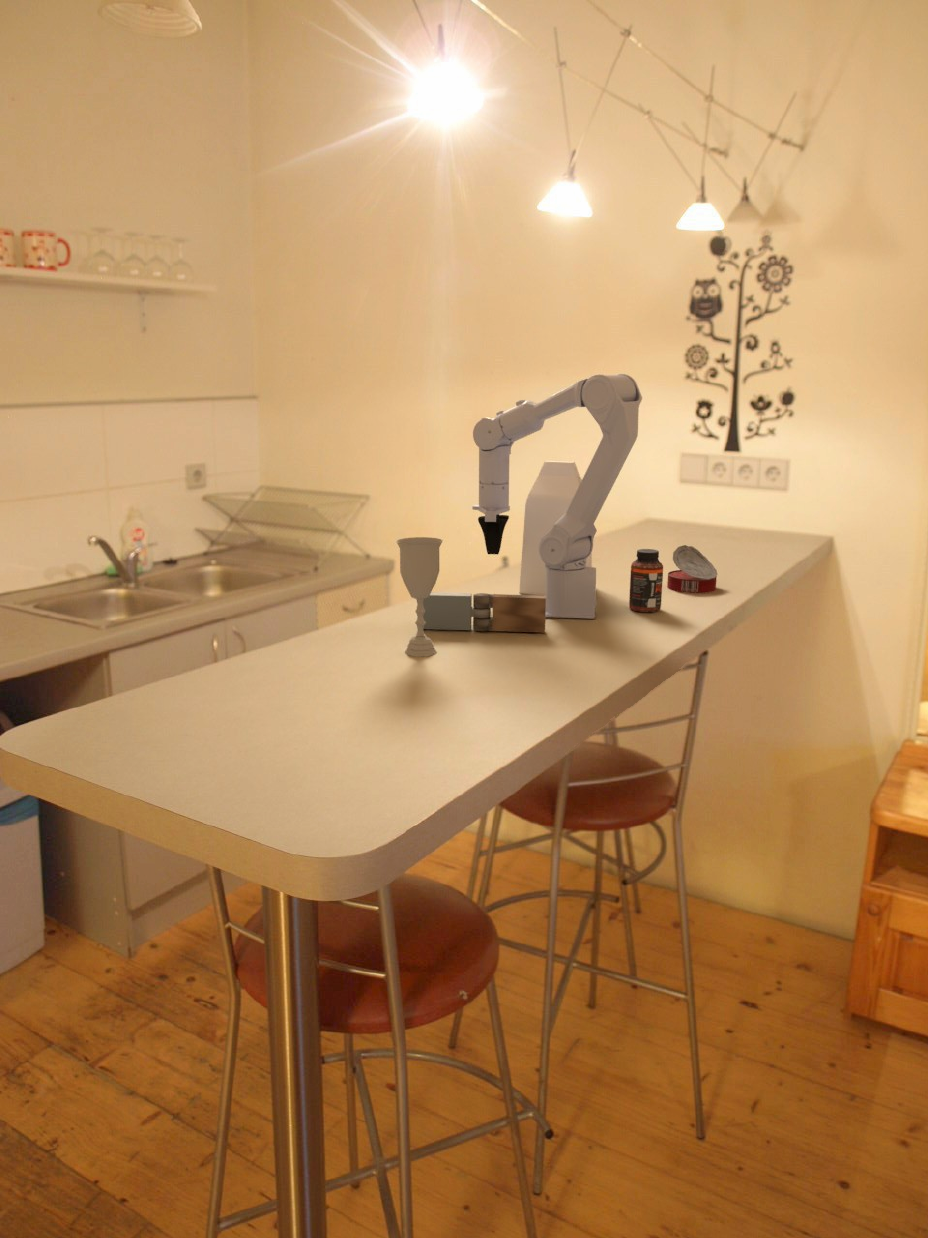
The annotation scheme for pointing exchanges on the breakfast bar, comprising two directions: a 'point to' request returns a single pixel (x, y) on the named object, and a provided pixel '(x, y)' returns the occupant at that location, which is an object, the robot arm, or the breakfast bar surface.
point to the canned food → (691, 572)
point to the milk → (545, 519)
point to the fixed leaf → (511, 612)
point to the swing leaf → (451, 611)
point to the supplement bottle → (646, 582)
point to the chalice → (419, 583)
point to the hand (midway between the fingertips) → (493, 553)
